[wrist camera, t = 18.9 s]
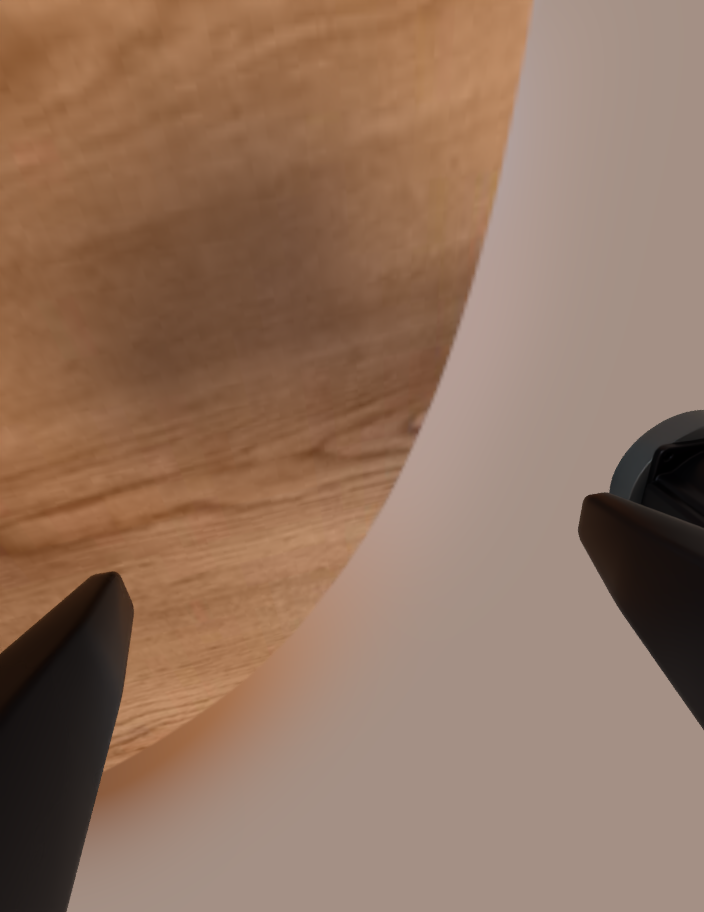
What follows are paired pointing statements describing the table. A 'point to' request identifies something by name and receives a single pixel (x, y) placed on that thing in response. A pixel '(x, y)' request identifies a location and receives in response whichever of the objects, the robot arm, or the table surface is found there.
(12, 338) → the table surface
